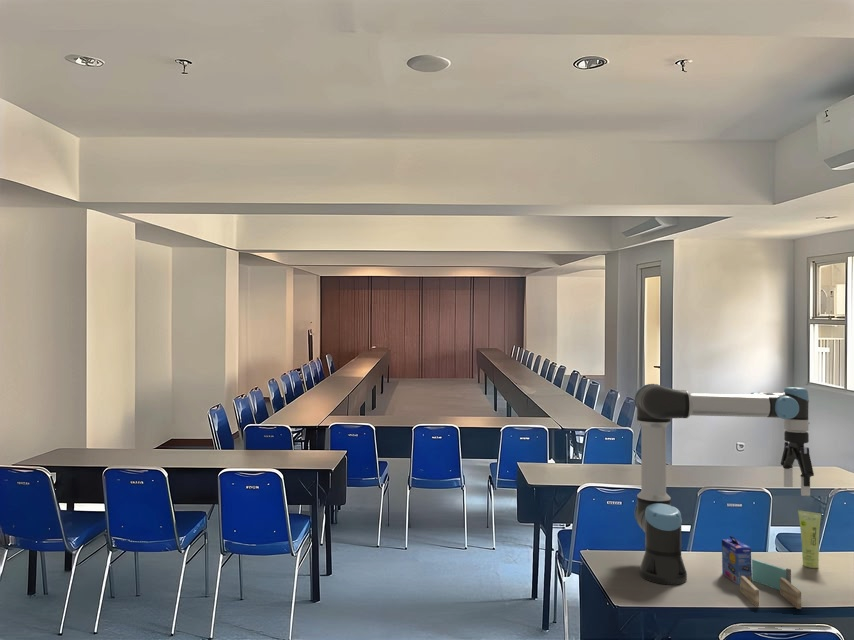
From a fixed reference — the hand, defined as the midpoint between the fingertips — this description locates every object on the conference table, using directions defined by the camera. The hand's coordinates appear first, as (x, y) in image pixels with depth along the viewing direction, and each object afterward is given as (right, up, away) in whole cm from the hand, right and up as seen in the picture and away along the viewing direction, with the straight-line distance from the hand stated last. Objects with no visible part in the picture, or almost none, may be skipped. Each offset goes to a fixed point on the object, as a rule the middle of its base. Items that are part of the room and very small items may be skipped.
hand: (796, 491), depth 233 cm
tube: (+7, -28, +4) cm, 29 cm away
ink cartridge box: (-26, -28, -10) cm, 39 cm away
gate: (-18, -27, -17) cm, 36 cm away
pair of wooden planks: (-24, -27, -28) cm, 45 cm away
